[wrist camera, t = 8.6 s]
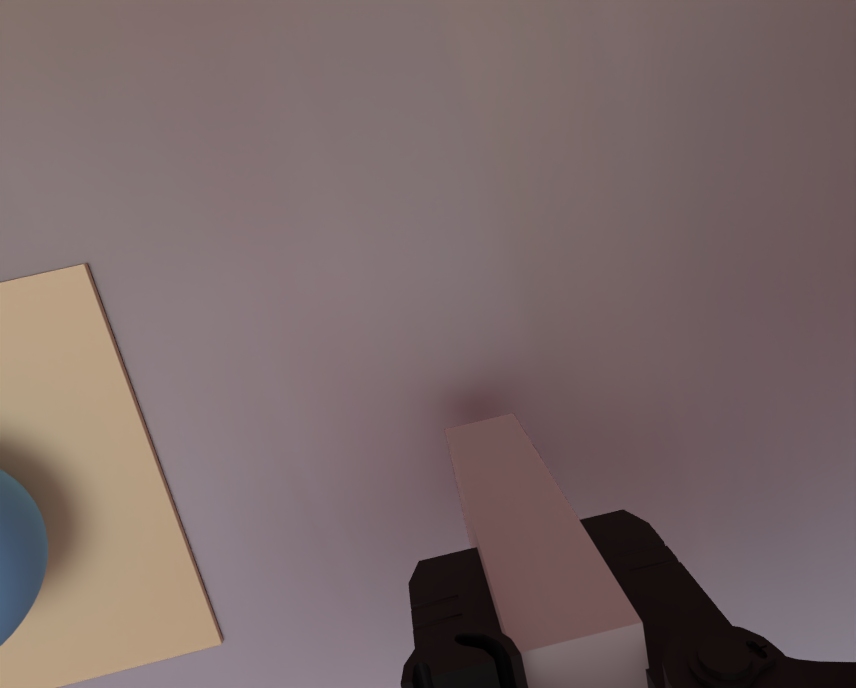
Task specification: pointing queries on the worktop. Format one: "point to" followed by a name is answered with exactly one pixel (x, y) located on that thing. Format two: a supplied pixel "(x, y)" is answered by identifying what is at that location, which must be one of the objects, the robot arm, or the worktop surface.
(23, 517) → the ball
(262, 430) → the worktop surface
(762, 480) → the worktop surface
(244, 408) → the worktop surface
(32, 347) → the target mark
